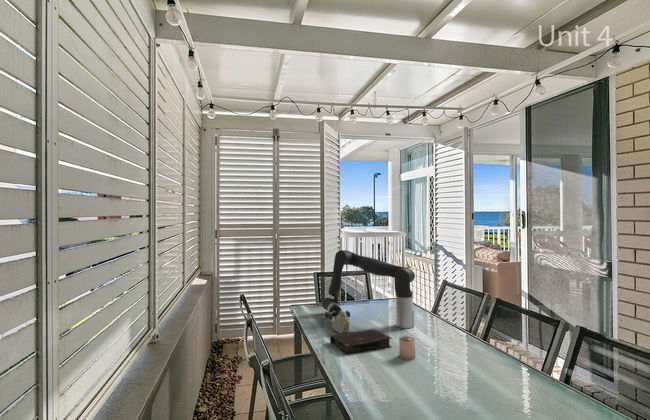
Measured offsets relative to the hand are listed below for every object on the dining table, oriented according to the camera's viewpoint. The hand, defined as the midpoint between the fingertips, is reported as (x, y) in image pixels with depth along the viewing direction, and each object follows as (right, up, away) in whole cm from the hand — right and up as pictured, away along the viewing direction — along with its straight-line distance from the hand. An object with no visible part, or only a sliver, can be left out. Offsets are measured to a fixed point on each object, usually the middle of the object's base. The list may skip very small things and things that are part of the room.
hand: (339, 317), depth 209 cm
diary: (+10, -7, -25) cm, 27 cm away
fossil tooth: (+1, -7, -3) cm, 7 cm away
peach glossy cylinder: (+29, -6, -40) cm, 50 cm away
